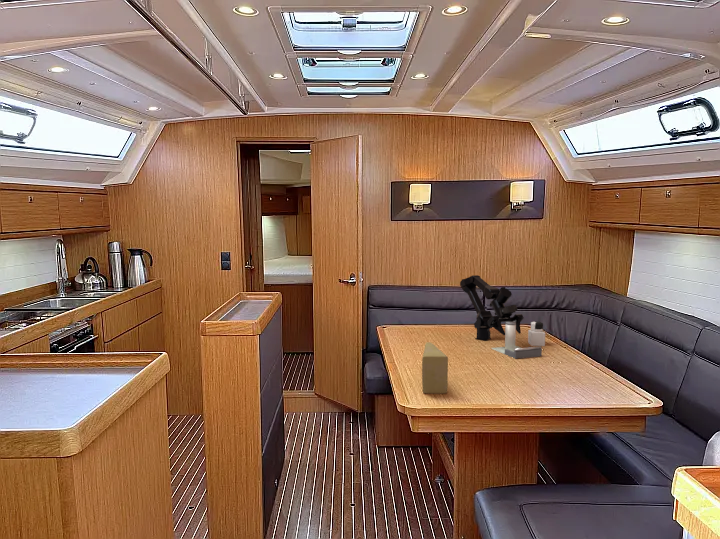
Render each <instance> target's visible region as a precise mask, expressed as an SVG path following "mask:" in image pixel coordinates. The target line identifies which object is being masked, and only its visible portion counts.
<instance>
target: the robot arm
mask: <svg viewBox="0 0 720 539" xmlns="http://www.w3.org/2000/svg"><path fill="white" fill-rule="evenodd" d="M459 285H460V288H461V290H462V291H463V292H465V293H466V294H467V295H468V298H469V300H470V302H471V304H472V306H473V308H474V310H475V312H476V321H475V322H474V324H473V326H474V328H475V329H476V337H475V338H474V339H475V340H481V341H489V340H491V329H495V330H496V331H498V332H499V333H500V334H502V336H505V330H504V327H503V326H502V323H506V322H507V321H513V322H516V332H517V334H518V335H521V330H522V329H521V322H522V321H523V320H524V319H525V316H524V315H523V314H522V313H517V314H514V313H516V312H517V311H519V310H518V306H517V305H516V304H512V305H509V306H505V304H506V303H507V302H508V301H509V300H510V298H511V297H512V296H513V294H512V291H510V290H509V289H507V288H506V287H505V286H501V287H500V288H497V287H496V286H492V285H490V284H489V283H488V282H486V281H485V280H484V279H482V278H481V276H480V275H470V276H469V277H466V278H462V279H461V281H460V282H459ZM477 288H478V289H479V290H481V291H482V292H483V296H484V297H485V298H486V299H487V300H492V301H490V303H489V307H490V308H491V307H492V308H493V311H494V315H493V314H492V312H491V310H486V309H485V307H484V304H483V302H482V300H481V298H480V296H479V294H478V291H477V290H476V289H477ZM513 314H514V315H513ZM512 315H513V316H512Z"/></svg>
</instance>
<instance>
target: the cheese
mask: <svg viewBox="0 0 720 539" xmlns="http://www.w3.org/2000/svg"><path fill="white" fill-rule="evenodd" d="M448 357H449V356H448V355H447V354H446V353H444V352H443V351H442V350H440V349H439V348H438V347H437V346H436V345H435V344H434V343H432V342H431V341H430V342H428V341H427V342H425V344H424V350H423V354H422V359H421V361H422V362H421V381H422V382H421V383H422V393H423V394H439V395H440V394H447V393H448V389H449V388H448V385H449V384H448V382H449V381H448V379H449V377H448V374H449V373H448V370H449V358H448Z"/></svg>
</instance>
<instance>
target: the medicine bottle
mask: <svg viewBox="0 0 720 539" xmlns="http://www.w3.org/2000/svg"><path fill="white" fill-rule="evenodd" d="M543 330H544V323H543V322H541V321H531V322H530V329H528V332H527V343H528V344H529V345H530V347H539V346H541V347H545V346H546V332H545V331H543Z"/></svg>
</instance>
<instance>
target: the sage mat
mask: <svg viewBox="0 0 720 539" xmlns="http://www.w3.org/2000/svg"><path fill="white" fill-rule="evenodd" d="M519 348H522V347H520V346H518V345H515V349H519ZM490 349H491V350H494V351H496V352H498V353H501V354H503V355H505V346H499V347H491V348H490ZM513 352H514V351H513Z"/></svg>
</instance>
